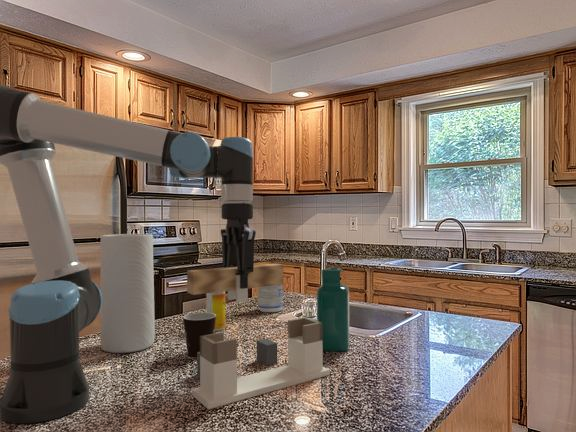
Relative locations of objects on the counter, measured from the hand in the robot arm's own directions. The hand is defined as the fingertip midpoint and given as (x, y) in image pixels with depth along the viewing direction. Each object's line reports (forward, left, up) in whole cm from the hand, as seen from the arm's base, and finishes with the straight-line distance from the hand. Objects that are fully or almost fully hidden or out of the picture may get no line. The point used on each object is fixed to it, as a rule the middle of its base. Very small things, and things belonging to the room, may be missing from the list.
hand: (237, 300), depth 103 cm
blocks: (0, 0, -16) cm, 16 cm away
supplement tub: (+40, +49, -17) cm, 65 cm away
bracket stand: (0, -12, -16) cm, 20 cm away
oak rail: (0, 0, +3) cm, 3 cm away
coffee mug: (-2, +17, -17) cm, 24 cm away
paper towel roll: (-17, +34, -17) cm, 41 cm away
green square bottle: (+29, -1, -17) cm, 34 cm away
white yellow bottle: (+11, +36, -17) cm, 41 cm away
